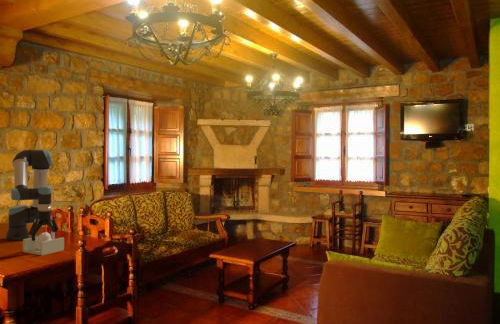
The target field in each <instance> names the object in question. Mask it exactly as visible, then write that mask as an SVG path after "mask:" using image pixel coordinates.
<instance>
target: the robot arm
mask: <svg viewBox="0 0 500 324" xmlns="http://www.w3.org/2000/svg"><path fill="white" fill-rule="evenodd" d="M12 167H13V169H14V170H13V171H14V173H13V174H14V177H13V178H14V179H13V180H14V181H13V183H14V187H13V188H11V190H10V194H11V195H10V196H11V197H10V199H11V200H12V201H32V202H31V204H30V206H29V207H28V205H25V204H24V205H16V206H12V207H10V208H9V209H8V214H7V216H8V225H7V226H8V228H7V231H6V235H5V237H4V238H5V240H6V241H21V240H22V241H23V239H28V238H30V236H31V238H32V246H37V237H38V236H37V234H38V232H39V230H40V228H42V227H43V226H48V228H49V229H50V230H51V231H50V236H51V239H52V240H53V239H56V235H57V234H56V233H57V232H58V231H59V230H60V228H59V225H58V224H57V222H56V218H55V216H52V192H53V191H52V187H51V186H50V185H48V171H49V170H50V167H53V160H52V154H51V151H50V150H46V149H24V150H22V151H21V150H20V151H19V152H18V153H17V154H15V156H14V158H13V159H12ZM28 167H31V169H32V170H33V187H32V188H31V187H28ZM28 224H31V227H30V229H29V230H28Z"/></svg>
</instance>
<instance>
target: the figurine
mask: <svg viewBox="0 0 500 324" xmlns="http://www.w3.org/2000/svg"><path fill="white" fill-rule="evenodd" d="M38 236H39V237H38ZM38 236H37V237H38V238H39V239H38V242H37V246H35V250H36V251H40V248H41V242H44V241H48V240H52V239H51V233H49V232H48V231H44V232H41V233H39V235H38Z"/></svg>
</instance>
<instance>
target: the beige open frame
mask: <svg viewBox="0 0 500 324" xmlns="http://www.w3.org/2000/svg"><path fill="white" fill-rule="evenodd" d="M38 237H39V235H38V236H37V242H38V239H39V238H38ZM64 250H65V237H58V238H55V239H53V240H48V241H44V242H41V248H40V251H39V250H37V251H36V250H35V246H32V237H29V238H28V239H23V240H22V253H27V254H32V255H38V256H46V255H49V254H53V253H56V252H62V251H64Z"/></svg>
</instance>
